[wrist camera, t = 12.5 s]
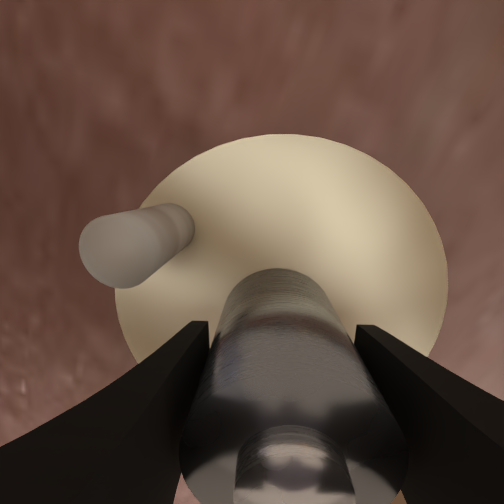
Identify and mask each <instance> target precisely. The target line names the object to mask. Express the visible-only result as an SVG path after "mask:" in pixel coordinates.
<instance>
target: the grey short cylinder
mask: <svg viewBox="0 0 504 504" xmlns="http://www.w3.org/2000/svg"><path fill="white" fill-rule="evenodd" d="M408 458H409V454H408V448H407V443H406V440H405V437H404V434H403V432H402V430H401V428H400V426H399V425H398V423H397V421H396V419H395V417H394V416H393V414H392V412H391V410H390V408H389V407H388V405H387V403H386V401H385V399H384V398H383V396H382V394H381V392H380V390H379V389H378V387H377V385H376V383H375V381H374V380H373V378H372V376H371V374H370V372H369V371H368V369H367V367H366V365H365V363H364V362H363V360H362V358H361V356H360V354H359V353H358V351H357V349H356V347H355V345H354V344H353V342H352V340H351V338H350V336H349V335H348V333H347V331H346V329H345V327H344V326H343V324H342V322H341V320H340V318H339V317H338V315H337V313H336V311H335V309H334V308H333V306H332V304H331V302H330V300H329V299H328V297H327V295H326V293H325V292H324V290H323V289H322V288H321V287H320V286H319V285H318V284H317V283H316V282H315V281H314V280H313V279H311V278H310V277H308V276H306V275H304V274H302V273H300V272H297V271H294V270H290V269H283V268H272V269H265V270H261V271H258V272H255V273H253V274H251V275H249V276H247V277H245V278H244V279H243V280H241V281H240V282H239V283H238V284H237V285H236V286H235V287H234V288H233V289H232V291H231V292H230V294H229V295H228V297H227V300H226V302H225V305H224V308H223V311H222V314H221V317H220V320H219V323H218V326H217V329H216V332H215V335H214V338H213V341H212V344H211V347H210V350H209V353H208V356H207V359H206V362H205V365H204V368H203V372H202V375H201V378H200V381H199V384H198V387H197V390H196V393H195V396H194V399H193V402H192V405H191V408H190V411H189V414H188V417H187V420H186V423H185V426H184V429H183V432H182V435H181V440H180V444H179V463H180V469H181V472H182V475H183V478H184V480H185V482H186V484H187V486H188V488H189V489H190V490H191V492H192V493H193V495H194V496H195V497H196V498H197V499H198V501H199V502H200V503H201V504H390V503H391V502H392V501H393V499H394V498H395V497H396V495H397V494H398V492H399V491H400V489H401V488H402V485H403V483H404V480H405V478H406V474H407V470H408Z"/></svg>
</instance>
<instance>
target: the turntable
mask: <svg viewBox="0 0 504 504" xmlns="http://www.w3.org/2000/svg"><path fill="white" fill-rule="evenodd" d="M79 253H80V257H81V260H82V262H83V264H84V266H85V268H86V269H87V270H88V272H89V273H90V274H91V275H92V276H93V277H94V278H95V279H97V280H98V281H99V282H101V283H103V284H105V285H107V286H110V287H113V288H115V302H116V308H117V314H118V319H119V323H120V326H121V329H122V332H123V335H124V338H125V340H126V342H127V344H128V347H129V349H130V351H131V353H132V355H133V356H134V358H135V360H136V361H137V363H138V364H139V363H140V362H141V361H143V360H144V359H145V358H147V357H148V356H149V355H151V354H152V353H153V352H155V351H156V350H157V349H158V348H159V347H161V346H162V345H163V344H164V343H166V342H167V341H168V340H169V339H170V338H172V337H173V336H174V335H175V334H176V333H177V332H179V331H180V330H181V329H182V328H183V327H185V326H186V325H187V324H188V323H189V322H191V321H208V324H209V343H210V347H211V344H212V341H213V338H214V335H215V332H216V329H217V326H218V323H219V320H220V317H221V314H222V311H223V308H224V305H225V302H226V300H227V297H228V295H229V294H230V292H231V291H232V289H233V288H234V287H235V286H236V285H237V284H238V283H239V282H240V281H241V280H243V279H244V278H245V277H247V276H249V275H251V274H253V273H255V272H258V271H261V270H265V269H272V268H283V269H290V270H294V271H297V272H300V273H302V274H304V275H306V276H308V277H310V278H311V279H313V280H314V281H315V282H316V283H317V284H318V285H319V286H320V287H321V288H322V289H323V290H324V292H325V293H326V295H327V297H328V299H329V300H330V302H331V304H332V306H333V308H334V309H335V311H336V313H337V315H338V317H339V318H340V320H341V322H342V324H343V326H344V327H345V329H346V331H347V333H348V335H349V336H350V338H351V340H352V342H353V344H354V340H355V333H356V325H357V324H362V325H375V326H377V327H379V328H381V329H383V330H384V331H386V332H388V333H389V334H391V335H393V336H394V337H396V338H397V339H399V340H401V341H402V342H404V343H405V344H407V345H409V346H410V347H412V348H413V349H415V350H416V351H418V352H420V353H421V354H423V355H424V356H426V357H427V356H428V355H429V353H430V351H431V349H432V347H433V346H434V344H435V342H436V339H437V336H438V334H439V331H440V329H441V326H442V323H443V319H444V314H445V310H446V306H447V295H448V271H447V262H446V257H445V253H444V248H443V244H442V241H441V238H440V236H439V233H438V231H437V228H436V226H435V223H434V221H433V220H432V218H431V216H430V215H429V213H428V211H427V209H426V208H425V206H424V204H423V203H422V202H421V200H420V199H419V198H418V197H417V195H416V194H415V193H414V192H413V191H412V189H411V188H410V187H409V186H408V185H407V184H406V183H405V182H404V181H403V180H402V179H401V178H399V177H398V176H397V175H396V174H395V173H394V172H393V171H392V170H390V169H389V168H388V167H386V166H385V165H383V164H382V163H380V162H378V161H377V160H375V159H374V158H372V157H371V156H369V155H367V154H365V153H363V152H360V151H358V150H356V149H354V148H352V147H349V146H347V145H345V144H341V143H338V142H334V141H331V140H327V139H324V138H320V137H312V136H304V135H297V134H268V135H262V136H255V137H249V138H242V139H239V140H236V141H233V142H229V143H226V144H223V145H219V146H217V147H215V148H212V149H210V150H208V151H206V152H204V153H202V154H200V155H198V156H195V157H194V158H192V159H191V160H189V161H188V162H186V163H185V164H183V165H182V166H180V167H179V168H177V169H176V170H174V171H173V172H172V173H171V174H170V175H169V176H167V177H166V178H165V179H164V180H163V181H162V182H161V183H160V184H158V185H157V186H156V187H155V189H154V190H153V191H152V192H151V193H150V195H149V196H148V197H147V198H146V199H145V201H144V202H143V203H142V204H141V206H140V208H139V209H135V210H130V211H125V212H120V213H115V214H111V215H106V216H101V217H98V218H96V219H94V220H92V221H91V222H90V223H88V224H87V225H86V227H85V228H84V229H83V231H82V233H81V236H80V240H79Z"/></svg>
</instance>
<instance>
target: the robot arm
mask: <svg viewBox="0 0 504 504" xmlns="http://www.w3.org/2000/svg"><path fill="white" fill-rule="evenodd" d="M354 345H355V347H356V349H357V351H358V353H359V354H360V356H361V358H362V360H363V362H364V363H365V365H366V367H367V369H368V371H369V372H370V374H371V376H372V378H373V380H374V381H375V383H376V385H377V387H378V389H379V390H380V392H381V394H382V396H383V398H384V399H385V401H386V403H387V405H388V407H389V408H390V410H391V412H392V414H393V416H394V417H395V419H396V421H397V423H398V425H399V426H400V428H401V430H402V432H403V434H404V437H405V440H406V443H407V448H408V454H409V458H408V470H407V474H406V478H405V480H404V483H403V485H402V488H401V491H402V493H403V495H404V498H405V500H406V502H407V504H504V401H503V400H501V399H499V398H497V397H495V396H493V395H491V394H489V393H488V392H486V391H484V390H482V389H480V388H479V387H477V386H475V385H473V384H472V383H470V382H468V381H466V380H465V379H463V378H461V377H459V376H458V375H456V374H454V373H452V372H451V371H449V370H447V369H446V368H444V367H442V366H441V365H439V364H437V363H436V362H434V361H433V360H431V359H429V358H428V357H426V356H424V355H423V354H421V353H420V352H418V351H416V350H415V349H413V348H412V347H410V346H409V345H407V344H405V343H404V342H402V341H401V340H399V339H397V338H396V337H394V336H393V335H391V334H389V333H388V332H386V331H384V330H383V329H381V328H379V327H377V326H375V325H362V324H357V325H356V333H355V340H354ZM209 350H210V343H209V324H208V321H191V322H189V323H188V324H187V325H186V326H185V327H183V328H182V329H181V330H180V331H179V332H177V333H176V334H175V335H174V336H173V337H172V338H170V339H169V340H168V341H167V342H166V343H164V344H163V345H162V346H161V347H159V348H158V349H157V350H156V351H155V352H153V353H152V354H151V355H149V356H148V357H147V358H145V359H144V360H143V361H141V362H140V363H139V364H137V365H136V366H135V367H133V368H132V369H131V370H129V371H128V372H127V373H125V374H124V375H123V376H121V377H120V378H118V379H117V380H115V381H114V382H113V383H111V384H110V385H108V386H107V387H105V388H103V389H102V390H100V391H99V392H97V393H96V394H94V395H92V396H91V397H89V398H88V399H86V400H85V401H83V402H81V403H80V404H78V405H76V406H74V407H73V408H71V409H69V410H67V411H66V412H64V413H62V414H60V415H59V416H57V417H55V418H53V419H51V420H50V421H48V422H46V423H44V424H43V425H41V426H39V427H37V428H36V429H34V430H32V431H30V432H28V433H26V434H25V435H23V436H21V437H19V438H17V439H15V440H13V441H11V442H9V443H7V444H5V445H3V446H1V447H0V504H173V502H174V497H175V493H176V489H177V486H178V482H179V478H180V475H181V469H180V463H179V444H180V440H181V435H182V432H183V429H184V426H185V423H186V420H187V417H188V414H189V411H190V408H191V405H192V402H193V399H194V396H195V393H196V390H197V387H198V384H199V381H200V378H201V375H202V372H203V368H204V365H205V362H206V359H207V356H208V353H209Z"/></svg>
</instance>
